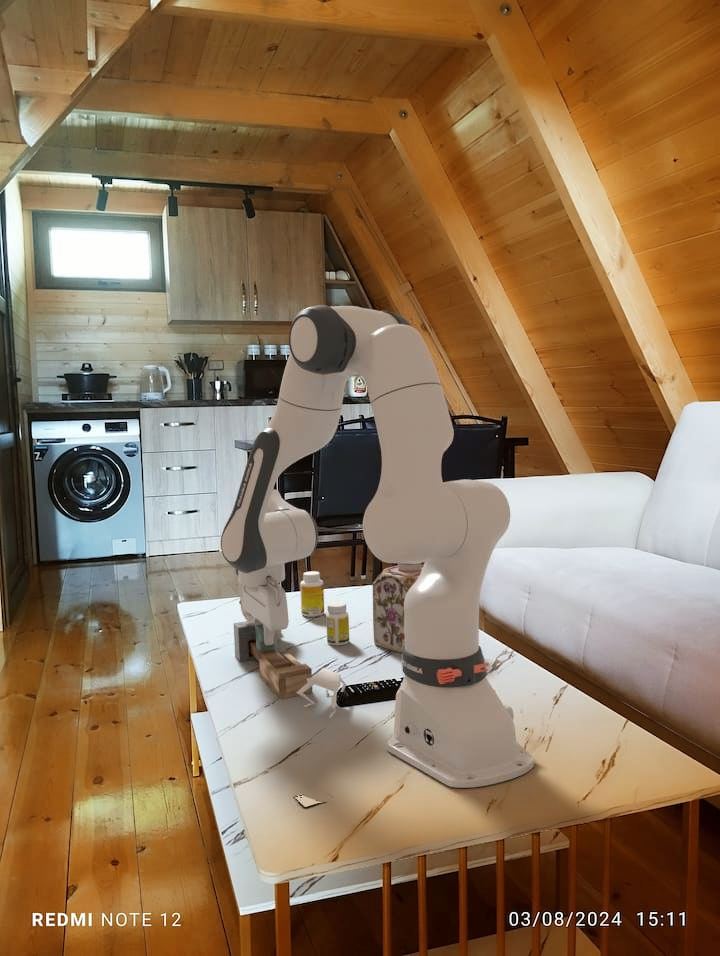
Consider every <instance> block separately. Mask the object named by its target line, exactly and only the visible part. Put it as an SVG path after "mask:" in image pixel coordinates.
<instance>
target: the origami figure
mask: <svg viewBox="0 0 720 956" xmlns="http://www.w3.org/2000/svg"><path fill="white" fill-rule="evenodd" d="M306 680H307V682H308V683H307V684H305V685H304V686H303V687H302V688H301V689H300V690H299V691H298V692H296V693H297V694H299V695H298V696H301V697H302V698H304V699H305V700H306V701H308V702H309V703H307V704H304V705H303V707H304V708H308V707H310V706H312V705H314V704H315V701H313V700H312V699H311V698H310V697H308V696H307V694H303V693H304V692H305V691H307V690H308V689H309V688H310V687H312V688H313V686H315V685H316V686H317V687H321V688H323V689H325V691H324V692H325V694H326V695H330V693H329V692H328V691H331V692H333V697H332V700H331V701H332V702H331V710H332V712H331V713H330V714H329V716H328V718H333V716H334V715H335V714H336V709H337V708H336V707H337V698H338V696H337V693H338V690H339V689H340V688H341V690H340V692H345V688H346V686H347V683H346V682H345V680H343V679H342V677H341V674H340V673H337V672H334V671H333V670H331V669H328V668H326V667H323V668H321V669H320V670H319V671H318V672H317V673H316V674H314V675H313V676H312V677H311V678H307V679H306ZM341 684H343V685H341ZM341 686H342V687H341Z"/></svg>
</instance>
